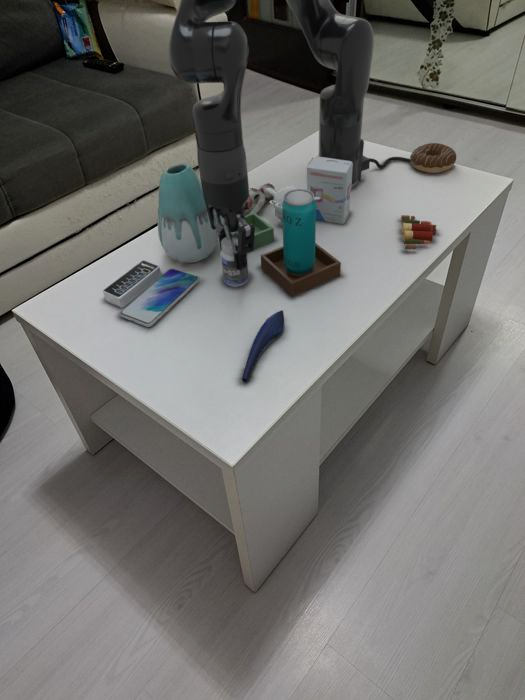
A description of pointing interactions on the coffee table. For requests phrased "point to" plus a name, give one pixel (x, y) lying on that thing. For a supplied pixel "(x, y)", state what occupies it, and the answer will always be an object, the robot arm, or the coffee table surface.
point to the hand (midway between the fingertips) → (234, 260)
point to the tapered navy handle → (263, 340)
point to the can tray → (294, 285)
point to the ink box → (330, 187)
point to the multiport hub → (132, 283)
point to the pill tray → (260, 230)
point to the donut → (433, 157)
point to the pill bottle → (231, 266)
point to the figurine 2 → (280, 200)
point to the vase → (184, 216)
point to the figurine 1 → (257, 198)
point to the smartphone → (159, 297)
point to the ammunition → (416, 231)
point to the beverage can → (299, 231)
